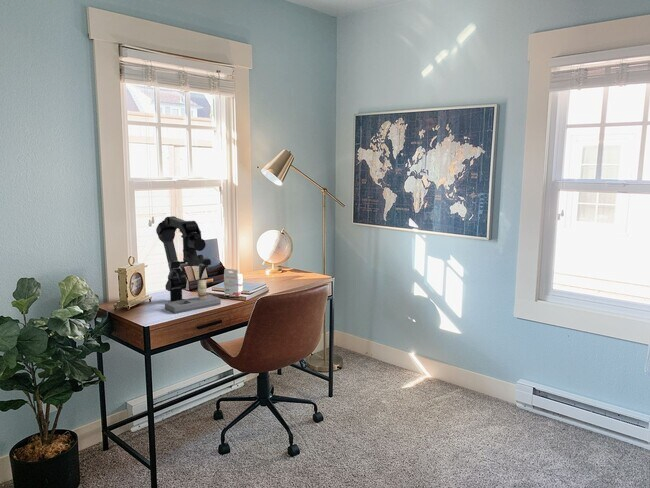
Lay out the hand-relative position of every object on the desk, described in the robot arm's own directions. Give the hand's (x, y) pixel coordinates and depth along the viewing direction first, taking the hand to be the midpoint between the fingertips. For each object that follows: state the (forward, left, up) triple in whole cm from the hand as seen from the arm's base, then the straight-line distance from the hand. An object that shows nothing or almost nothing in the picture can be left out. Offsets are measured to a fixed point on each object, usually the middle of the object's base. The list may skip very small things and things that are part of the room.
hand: (190, 280), depth 247 cm
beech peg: (-6, +4, -10) cm, 12 cm away
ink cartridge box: (-23, +15, -14) cm, 31 cm away
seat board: (-2, 0, -13) cm, 13 cm away
